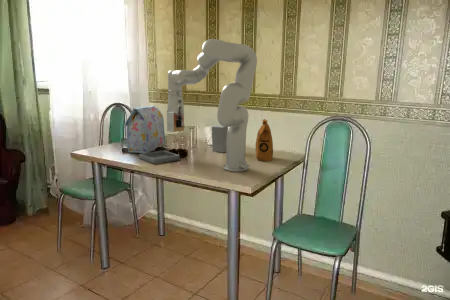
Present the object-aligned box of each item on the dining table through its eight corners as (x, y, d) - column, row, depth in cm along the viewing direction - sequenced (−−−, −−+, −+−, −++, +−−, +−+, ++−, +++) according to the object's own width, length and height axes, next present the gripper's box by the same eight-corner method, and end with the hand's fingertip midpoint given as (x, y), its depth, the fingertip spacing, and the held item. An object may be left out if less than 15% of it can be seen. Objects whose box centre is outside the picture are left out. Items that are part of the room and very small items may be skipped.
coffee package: (254, 161, 195) (255, 121, 191) (255, 156, 207) (257, 118, 203) (272, 162, 194) (274, 121, 189) (272, 157, 206) (274, 119, 201)
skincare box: (228, 151, 219) (229, 125, 216) (222, 153, 213) (223, 127, 210) (217, 149, 223) (217, 124, 220) (210, 151, 217) (211, 125, 214)
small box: (173, 132, 193) (173, 112, 191) (166, 131, 196) (166, 112, 194) (184, 130, 199) (184, 111, 197) (177, 129, 203) (177, 111, 200)
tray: (179, 159, 195) (179, 155, 194) (153, 164, 184) (153, 159, 184) (164, 154, 206) (164, 150, 206) (139, 158, 196) (138, 153, 196)
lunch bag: (143, 145, 232) (142, 104, 226) (167, 147, 226) (166, 105, 221) (123, 152, 211) (121, 107, 205) (148, 154, 205) (147, 108, 200)
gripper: (189, 94, 189) (189, 127, 193) (172, 92, 202) (173, 124, 206) (177, 94, 185) (177, 129, 188) (161, 92, 198) (161, 125, 201)
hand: (175, 126), depth 197 cm, fingers closed on small box, 6 cm apart
